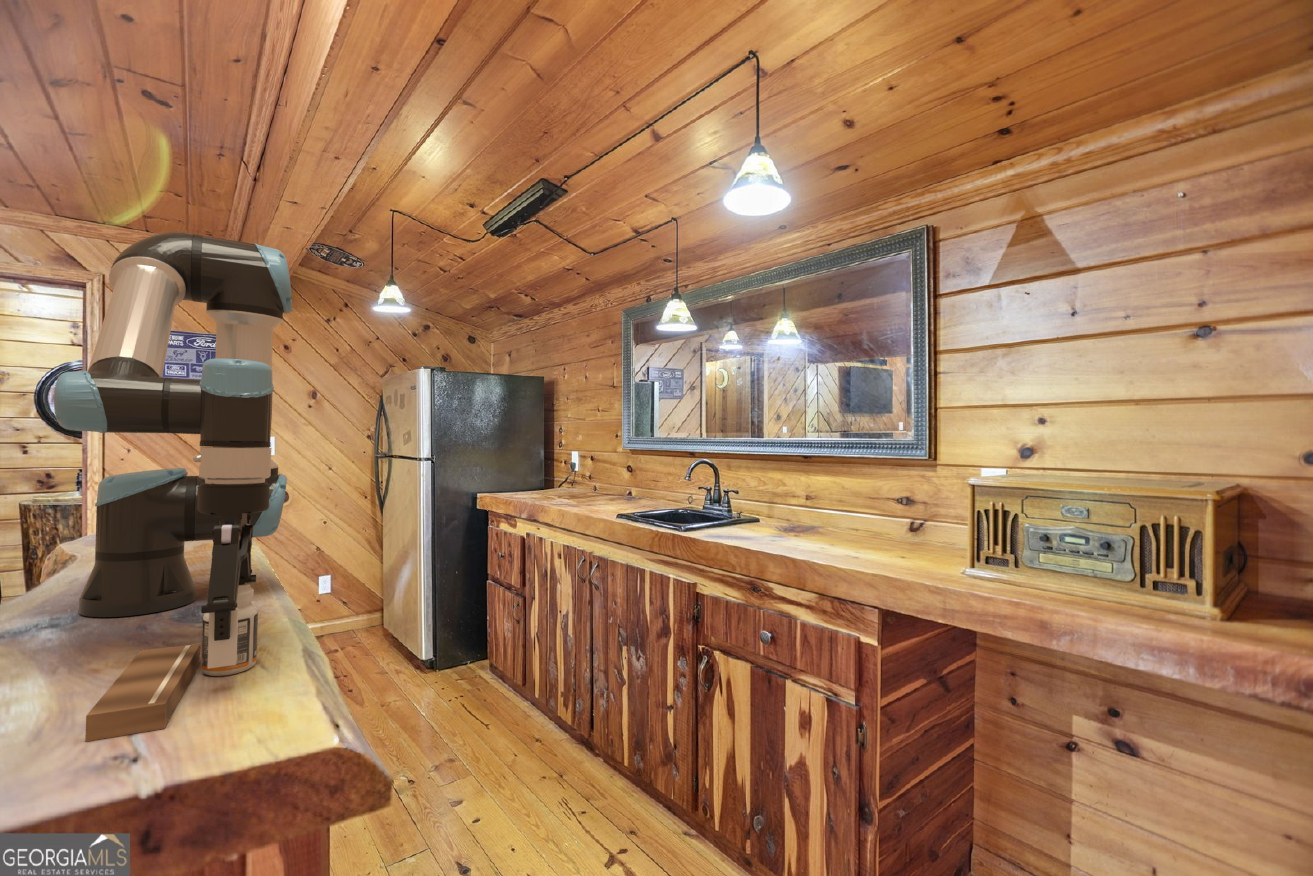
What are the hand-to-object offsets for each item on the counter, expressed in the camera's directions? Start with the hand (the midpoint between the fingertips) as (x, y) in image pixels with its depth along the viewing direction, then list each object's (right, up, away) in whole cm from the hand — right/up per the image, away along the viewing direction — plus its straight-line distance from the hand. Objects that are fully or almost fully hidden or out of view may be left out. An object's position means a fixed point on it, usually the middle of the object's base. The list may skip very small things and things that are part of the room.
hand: (230, 648), depth 76 cm
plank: (-3, -3, -8) cm, 9 cm away
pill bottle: (0, -3, 0) cm, 3 cm away
